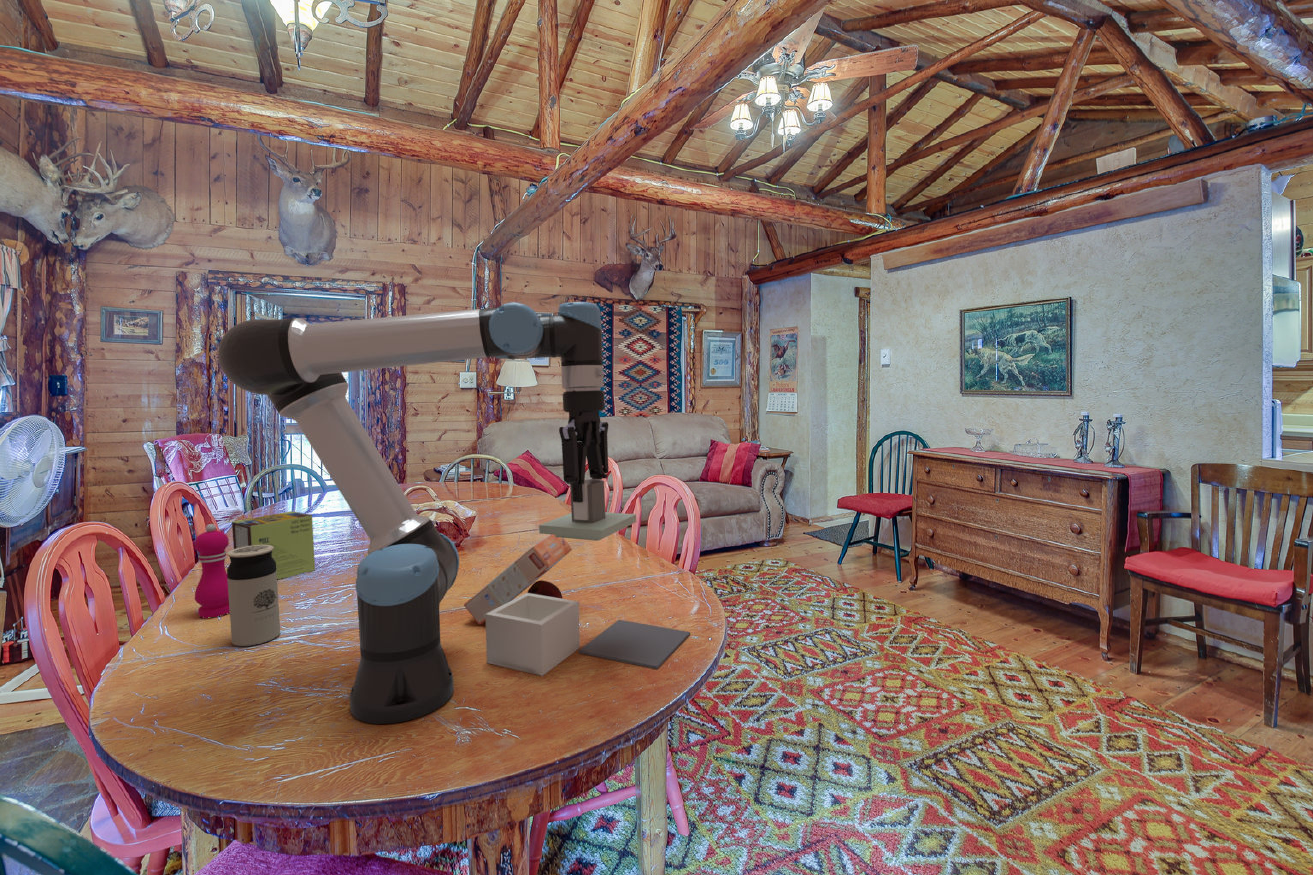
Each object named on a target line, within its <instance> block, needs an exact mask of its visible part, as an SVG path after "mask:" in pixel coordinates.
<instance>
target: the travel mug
mask: <svg viewBox="0 0 1313 875" xmlns="http://www.w3.org/2000/svg"><path fill="white" fill-rule="evenodd" d="M273 549H274V547H273V546H271V545H253V546H246V547H240V548H237V549H234V548H233V549H231V550H229V551H228V552H227V553H226V555H227V557H229V560H230V563H229V565H228V567H227V569H226V573H227V579H228V593H229V608H230V613H229V620H230V633H231V636H230V638H231V643H232V645H234V646H238V647H250V646H249V645H253V646H256V645H255V644H258V645H260V644H259V643H262V644H264V643H263V642H265V643H268V642H270V641H273V640H274V639H275V637H276V638H277V637H279V635H280V634H281V619H280V606H279V591H278V590H279V589H278V588H279V587H278V580H277V570H276V562H275V560H274V559H273V558H272V550H273ZM267 641H268V642H267Z"/></svg>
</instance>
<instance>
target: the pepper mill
mask: <svg viewBox="0 0 1313 875" xmlns="http://www.w3.org/2000/svg"><path fill="white" fill-rule="evenodd" d="M216 528H217V527H216V525H215V524H213V523H210V524H207V525H206V526H205V532H202V533H200V534H199V535H197V537H196V538H195V539H194V549H195V551H196V552H198V553H199V554H198V556H197V557H198V562H199V563H200V564H201V575H200V576H201V577H200V580H199V582H198V584H197V586H196V589H195V591H194V601H195V602H196V603H197V604H199V605H200V606H199V607H198V610H197V611H198V617H199V616H200V617H204V618H203V619H209V618H208V617H216V618H218V617H217V616H220V615H224V614H227V613H229V614H230V608H229V593H228V579H227V569H226V566H225V562H226V559H227V558H228V555H227V553H228V552H227V551H226V549H227V547H228V546H229V543H230V542H229V540H230V539H229V537H228V535H227V534H226V533H224V532H223V531H220V530H216ZM227 615H228V614H227ZM224 616H225V615H224ZM200 617H199V618H200ZM220 617H221V616H220Z"/></svg>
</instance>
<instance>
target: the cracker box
mask: <svg viewBox="0 0 1313 875" xmlns="http://www.w3.org/2000/svg"><path fill="white" fill-rule="evenodd" d="M572 550H573V549H572V547H571V545H570V543H568V542H567V540H566V538H561V537H555V535H552V534H548V535H547V536H546V537H545V538H543V539H542V540H540V541H538V542H537V543H536V544H534V545H532V546H531V547H529V549H528V550H527V551H525V552H524V553H523V554H522V555H520V556H519V557H518V558H517V559H516V560H515V561H514V562H512V563H511V564H510V565H508V566H507V567H506V568H505V569H504V570H502V572H500V573H499V574H498V575H497V576H495V577H494V578H493V579H492V580H491V581H490V582H489V583H487V584H486V585H485V586H484V587H483V588H481V589H480V590H479V591H477V593H475V595H473V596H472V597H471V598H469V599H468V600H467V601H466V602H465V603H464V604H463V606H464V607H465V609H466V610H467V611H468V612H469V614H470V615H471V616H472V618H473V619H474V620H475V622H476V623H477V624H478V625H479V626H481V625H483V623H486V617H485V614H487V613H489V612H490V611H492V610H494V609H496V608H498V607H500V606H502V605H504V604H506V603H508V602H510V601H512V600H514V599H516V598H518V597H519V596H520V594H522V593H523V592H524V591H525V590H527V589H529V588H530V587H531V586H532V585H533V584H534V583H535V582H537V581H539V579H540V578H541V577H543V576H544V575H545V574H546V573H547V572H549V571H550V570H551V569H553V567H555V566H556V565H557V564H558V563H559V562H560V561H561V560H562V559H563V558H564V557H566V556H567V555H568V554H569V553H570V552H571V551H572Z"/></svg>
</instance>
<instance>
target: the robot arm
mask: <svg viewBox="0 0 1313 875" xmlns="http://www.w3.org/2000/svg"><path fill="white" fill-rule="evenodd" d="M601 317H602V316H601V310H600V307H599V306H598V305H597V304H595V303H593V302H587V301H573V302H564V303H561V304H560V305H559V306H558V311H557V314H553V315H552V314H551V315H538V313H537V312H536V311H535V310H534V309H533V308H532V307H530V306H529V305H527V304H523V303H521V302H516V301H515V302H514V301H513V302H506V303H503V304H501V305H500V306H498V307H487V308H475V309H464V310H454V311H453V310H452V311H441V312H431V313H429V312H428V313H419V314H408V315H407V314H406V315H400V316H399V315H398V316H395V315H394V316H386V317H376V318H375V317H373V318H364V319H363V318H362V319H352V320H342V321H329V322H320V323H319V322H318V323H309V322H308V321H307V320H305V319H304V318H301V317H295V318H282V319H277V318H276V319H264V318H262V319H261V318H259V319H257V318H256V319H249V320H244V321H241V322H239V323H237V324H236V325H234V326H233V327H231V328H230V329H229V330H227V331H226V333H225V334H224V335H223V337H222V338H221V339H220V340H221V341H220V342H219V346H218V350H217V351H218V352H217V359H218V364H219V366H220V368H221V369H220V370H221V371H222V372H223V374H224V375H225V377H226V378H227V379H228V380H229V381H230V382H231V383H232V384H233V385H235V386H236V387H238V388H240V389H242V390H243V391H246V392H248V393H251V394H255V395H259V396H260V395H261V396H262V395H265V396H267V397H268V399H269V400H270V402H271V403H272V405H273V407H274V408H275V410H276V411H277V413H278V414H279V416H281V417H282V418H283V417H284V418H288V419H291V420H293V421H295V422H296V423H297V425H298V427H299V429H300V430H301V432H302V434H303V435H304V437H305V438H306V440H307V442H308V443H309V445H310V446H311V448H312V449H313V451H314V452H315V455H316V456H317V457H318V458H319V460H320V462H321V464H322V465H323V466H324V468H325V470H326V471H327V473H328V475H329V477H330V478H331V479H332V481H333V483H334V484H335V486H336V487H337V489H338V491H339V492H340V494H341V496H342V497H343V499H344V500H345V501H346V503H347V504H348V507H349V508H350V510H351V511H352V513H353V515H354V516H355V518H356V519H357V521H358V522H359V524H360V525H361V528H362V529H363V531H365V534H366V536H367V537H368V538H369V542H370V543H369V545H368V550H367V552H366V553H367V555H366V556H365V557H363V558H362V559H361V561H360V562H359V564H358V566H357V570H356V579H355V591H356V597H357V598H356V599H357V600H356V601H357V614H358V615H357V616H358V617H357V618H358V636H359V651H360V659H359V663H358V667H357V670H356V674H355V679H354V683H353V685H352V687H351V690H350V693H349V709H350V710H349V711H350V714H351V715H352V716H353V717H354V718H355V719H356V720H358V721H361V722H364V723H368V724H375V725H376V724H377V725H378V724H379V725H381V724H383V725H385V724H397V723H402V722H406V721H407V722H408V721H411V720H415V719H417V718H421V717H423V716H425V715H428V714H430V713H432V712H434V711H436V710H438V709H439V708H441V707H442V706H444V705H445V704H446V703H447V702H448V701H449V700H450V699H451V697H452V696H453V694H454V690H455V688H454V687H455V686H454V674H453V671H452V669H451V668H450V666H449V662H448V659H447V656H446V655H445V652H444V650H443V648H442V644H441V643H442V642H441V623H440V622H441V618H440V615H441V614H440V606H441V605H440V604H441V602H442V600H443V599H444V598H445V596H446V594H447V593H448V591H449V590H450V589H451V588H452V587H453V585H454V583H455V581H456V579H457V575H458V572H459V567H460V555H459V552H458V549H457V547H456V545H455V543H454V542H453V541H452V540H451V538H449V537H448V536H447V535H445V534H443V533H441V532H439V531H438V530H437V528H436V526H435V524H434V523H433V521H432V519H431V518H430V517H429V516H425V515H424V516H423V515H420V514H417V512H416V511H415V509H414V507H413V506H412V504H411V503H410V501H409V499H408V498H407V496H406V495H405V493H404V491H403V489H402V487H401V486H400V485H399V483H398V481H397V479H396V478H395V476H394V475H393V473H392V471H391V469H390V468H389V466H388V465H387V463H386V461H385V459H384V458H383V456H382V455H381V453H380V452H379V450H378V447H376V446H375V444H374V442H373V440H372V439H371V437H370V436H369V434H368V432H367V430H366V429H365V426H364V425H363V424H362V422H361V421H360V419H359V417H358V416H357V414H356V413H355V411H354V409H353V408H352V406H351V404H350V403H349V401H348V400H347V392H348V389H349V383H348V382H347V380H346V378H345V377H344V375H343V373H349V372H357V371H359V372H360V371H367V370H368V371H369V370H370V371H371V370H378V369H389V368H396V367H407V366H416V365H425V364H427V365H428V364H435V363H436V364H437V363H446V362H453V361H454V362H455V361H463V360H464V361H465V360H474V359H483V358H496V359H498V360H499V359H501V360H506V359H507V360H518V359H541V358H555V359H556V358H560V364H561V388H562V389H565V391H563V393H562V408H563V411H564V412H566V413H568V415H569V416H568V422H567V425H565V426H559V429H558V432H559V433H558V434H559V436H560V440H561V454H562V455H561V456H562V471H563V472H562V473H563V482H564V483H566V484H567V485H570V484H572V496H573V509H574V519H576V520H589V512H588V490H587V484H584V481H585V480H599V481H603V479H608V473H609V452H608V451H609V450H608V448H609V447H608V446H609V445H608V431H609V423H608V422H607V421H601V417H600V414H599V412H602V411H604V410H605V408H606V405H605V402H606V401H605V392H604V390H601V388H603V387H604V386H605V385H604V375H605V371H604V368H603V367H604V366H603V365H604V363H603V357H604V356H603V332H602V331H603V328H602V320H601ZM586 465H587V466H588V472H589V477H590V478H588V479H585V478H586Z"/></svg>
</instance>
